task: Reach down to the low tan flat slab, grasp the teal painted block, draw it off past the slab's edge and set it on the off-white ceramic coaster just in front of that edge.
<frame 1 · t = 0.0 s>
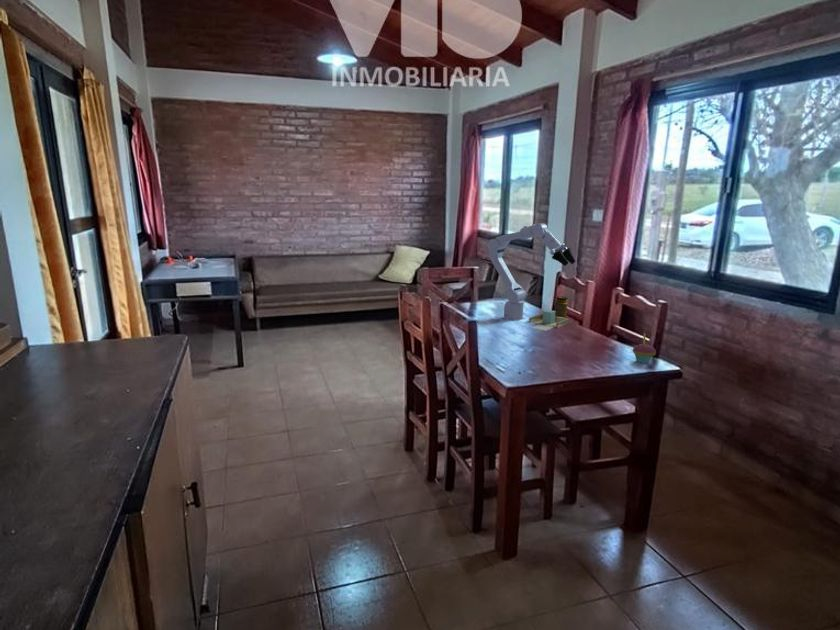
hand: (570, 263, 243), 32 cm above the table, tool tilted 50°, fingers open, 7 cm apart
block: (548, 322, 261), point 1 cm above the table, touching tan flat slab
cupcake: (642, 362, 206), on the table
condiment: (558, 320, 269), on the table
coaster: (542, 328, 252), on the table
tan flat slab: (548, 323, 261), on the table
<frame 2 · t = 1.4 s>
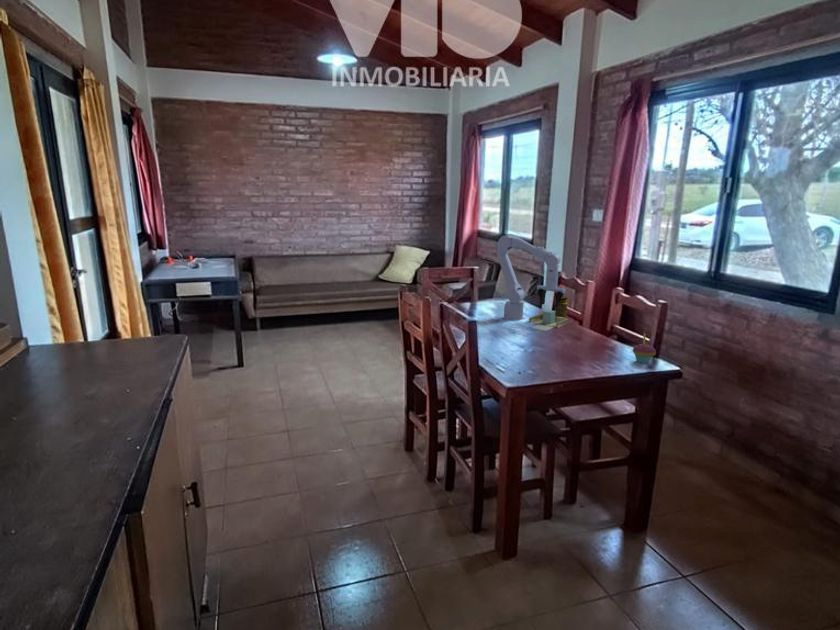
hand: (549, 305, 258), 10 cm above the table, tool pointing down, fingers open, 7 cm apart
nothing on the table moved.
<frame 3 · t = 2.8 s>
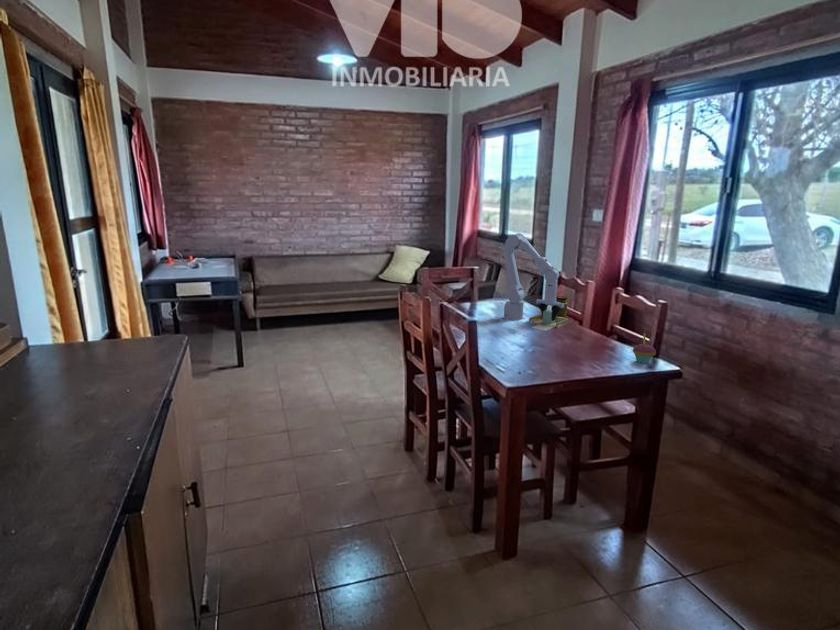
hand: (548, 319, 260), 2 cm above the table, tool pointing down, fingers closed on block, 4 cm apart
block: (548, 322, 261), point 1 cm above the table, touching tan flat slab, gripper
everything else where it was.
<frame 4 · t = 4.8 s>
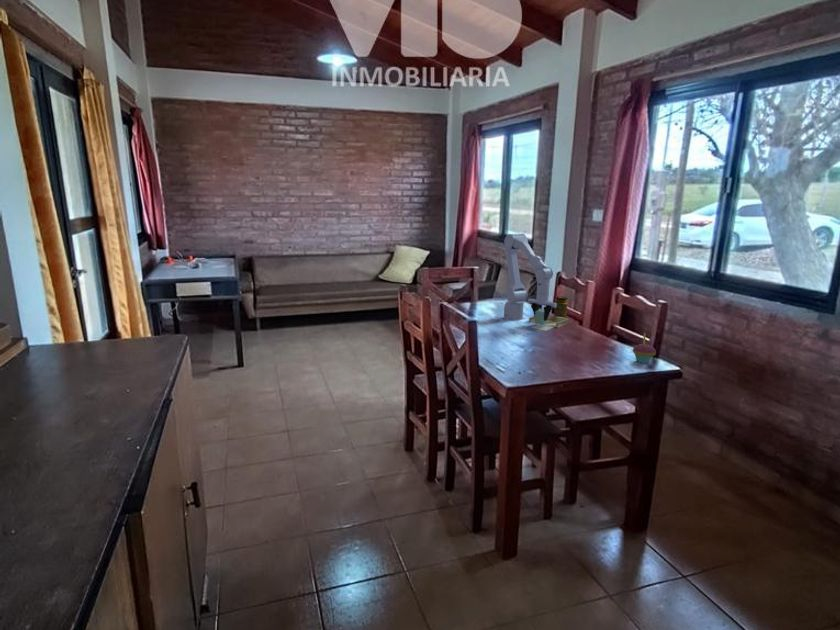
hand: (541, 319, 254), 4 cm above the table, tool pointing down, fingers closed on block, 4 cm apart
block: (540, 322, 254), point 2 cm above the table, touching gripper
everything else where it was.
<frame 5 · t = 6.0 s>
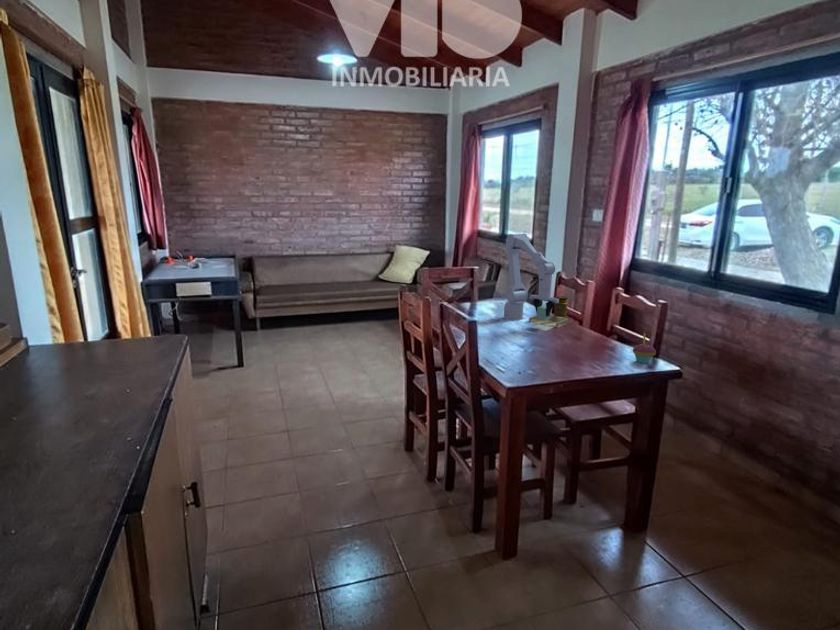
hand: (543, 315, 250), 7 cm above the table, tool pointing down, fingers closed on block, 4 cm apart
block: (542, 319, 251), point 5 cm above the table, touching gripper
everything else where it was.
when the fingers open (3 cm above the table, at t = 7.0 s): block stays where it is, resting on coaster.
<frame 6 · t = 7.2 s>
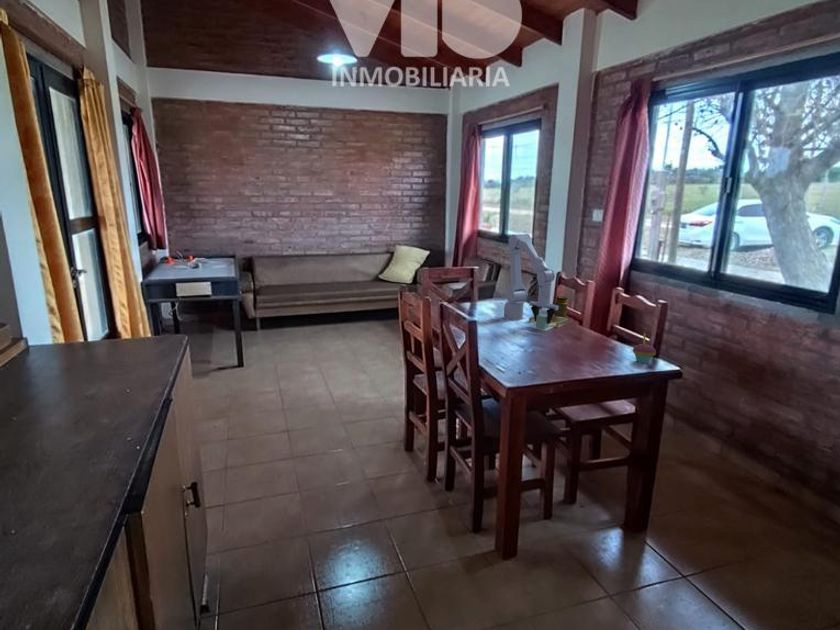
hand: (542, 322, 251), 3 cm above the table, tool pointing down, fingers open, 6 cm apart
block: (542, 327, 252), point 1 cm above the table, touching coaster
everything else where it was.
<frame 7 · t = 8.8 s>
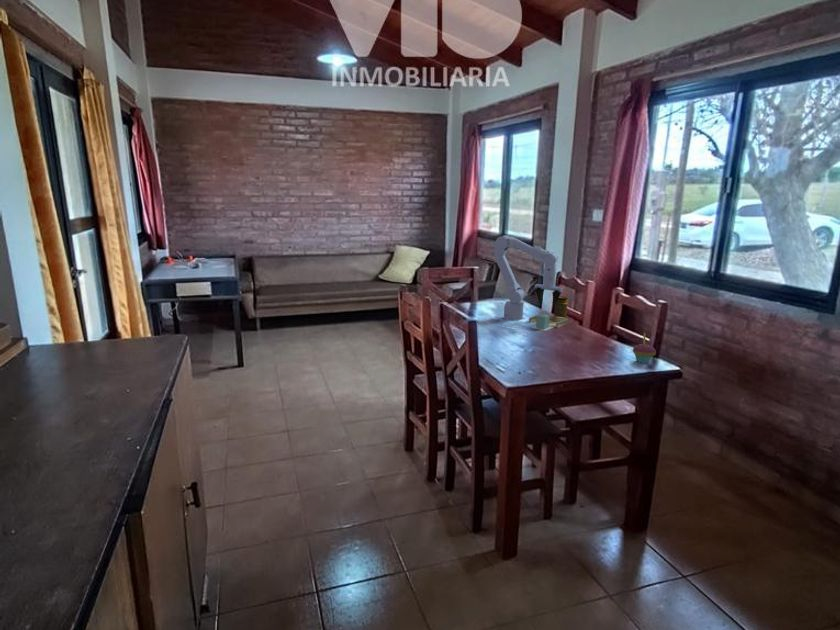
hand: (547, 304, 260), 10 cm above the table, tool pointing down, fingers open, 7 cm apart
nothing on the table moved.
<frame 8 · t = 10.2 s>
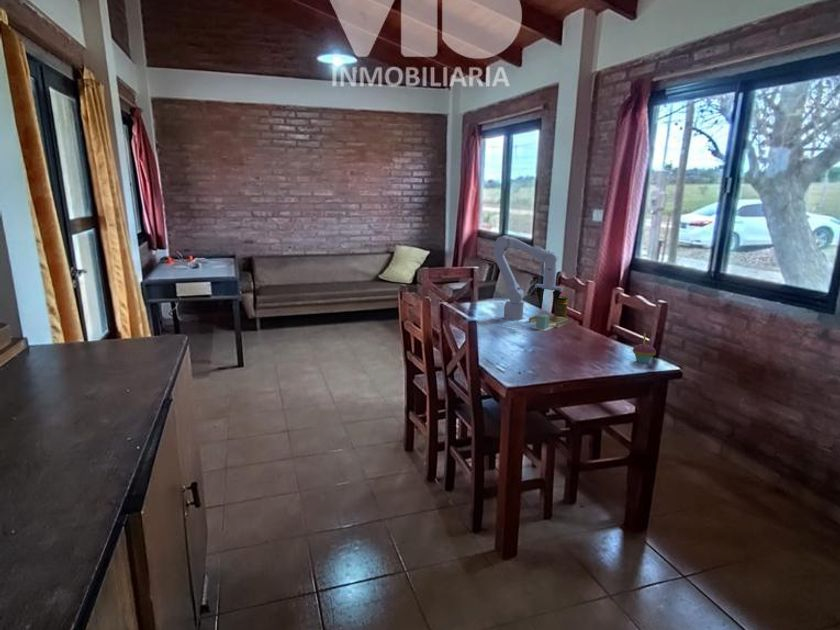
hand: (547, 303, 261), 10 cm above the table, tool pointing down, fingers open, 7 cm apart
nothing on the table moved.
at the end: block inside the target area on the coaster (0.1 cm from its centre), point 0.6 cm above the coaster's base; block tilted 0°; the gripper is holding nothing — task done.
